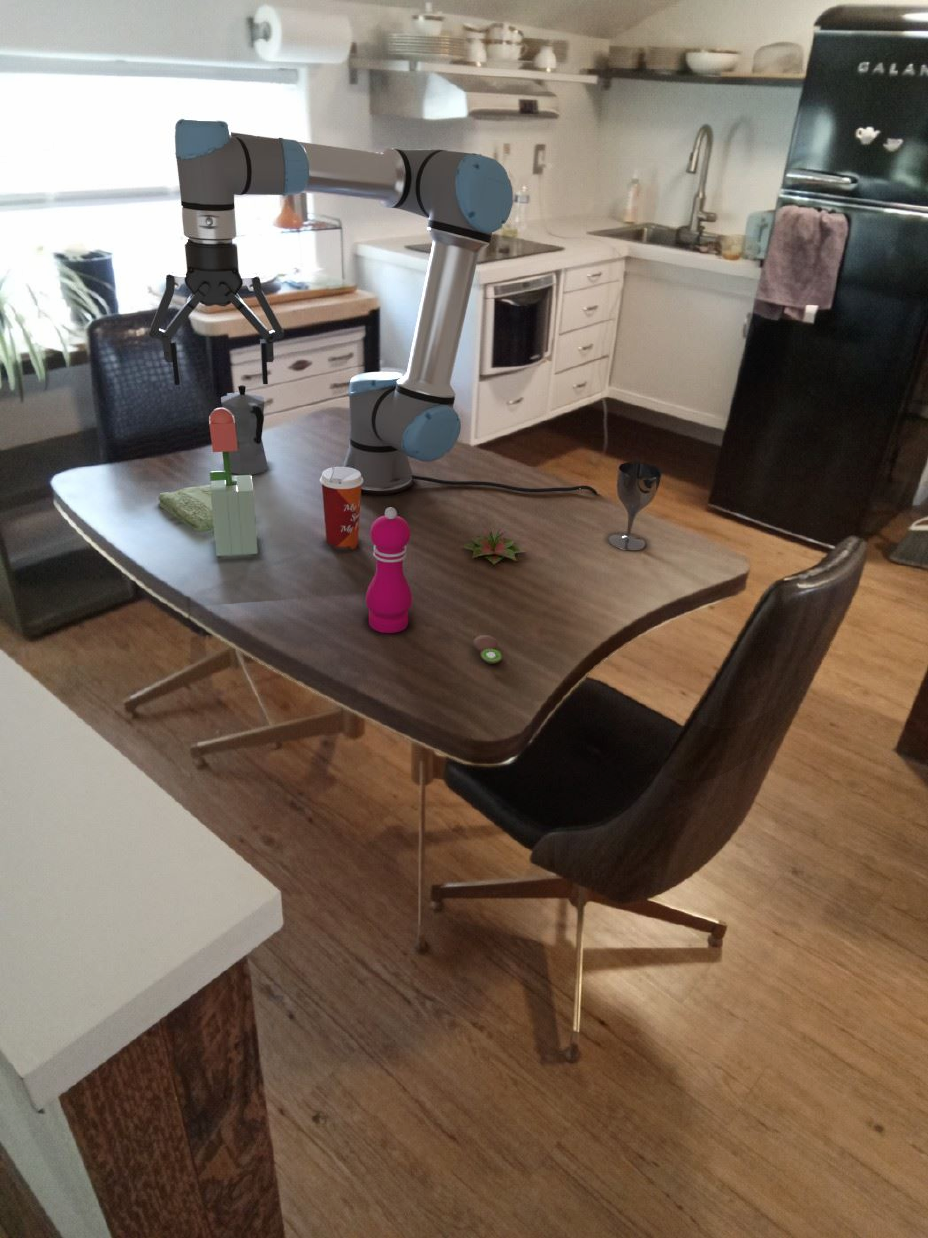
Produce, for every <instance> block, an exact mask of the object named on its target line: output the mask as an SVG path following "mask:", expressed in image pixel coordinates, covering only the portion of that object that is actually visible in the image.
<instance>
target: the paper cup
mask: <svg viewBox="0 0 928 1238" xmlns="http://www.w3.org/2000/svg"><path fill="white" fill-rule="evenodd" d="M319 483H320V484H321V491H322V503H323V513H324V514H323V515H324V516H323V517H324V526H325V527H324V528H325V538H326V542H327V543H328V544H329V545H330V546H334V547H338V548H346V547H350V550H355V549H356V548H357V547H358V541H359V528H360V514H361V513H360V512H361V497H362V493H361V484H362V483H363V478H362V477H361V473H360V472H359V471H358V470H356V469H354V468H350V467H343V466H332V467H329V468H328V467H327V468H326V469H324V470H323V471H322V474H321V476H320V477H319Z"/></svg>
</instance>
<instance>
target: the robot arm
mask: <svg viewBox="0 0 928 1238" xmlns="http://www.w3.org/2000/svg"><path fill="white" fill-rule="evenodd" d="M174 146H175V147H174V149H175V150H174V151H175V152H174V156H175V158H176V167H177V174H178V175H177V177H178V184H179V194H180V205H181V206H180V210H181V219H182V221H181V222H182V230H183V231H182V232H183V235H184V237H186V238H187V239H186V240H185V242H184V252H185V262H186V273H185V275H184V274H177V273H175V272H173V271H167V273H166V276H165V289H164V292H163V294H162V297H161V299H160V301H159V303H158V307H157V309H156V312H155V314H154V317H153V320H152V321H151V325H150V327H149V330H148V331H149V332H148V335H149V336H150V338H153V339H157V340H159V341H161V342H162V349H163V357H164V358H163V359H164V362H165V363H172V372H173V378H174V386H180V385H181V376H180V366H179V356H178V347H177V338H173V337H174V336H175V335H176V333H177V332H178V330H179V329H180V328H181V327H182V326H183V324H184V323H185V321H186V320H187V319H188V317H190V315H191V313H192V312H193V311H194V310H195V309H196V308H197V306H198V305H199V304H202V305H203V306H205V307H213V306H218V307H227V306H229V305H232V306H233V307H234V308H235V309H236V310H237V311H239V313H240V314H241V315H242V316H243V317H244V319H246V320H247V321H248V323H249V324H250V325H251V326H252V327H253V328H254V329H255V330H256V332H258V334H259V335H260V336H261V337H262V338H260V339H259V345H260V346H259V347H260V362H261V363H260V365H261V380H262V381H261V382H262V384H263V385H269V377H268V376H269V375H268V363H273V362H274V360H275V357H274V356H275V355H274V342H276V341H277V340H279V339H283V338H284V337H285V331H284V329H283V327H282V325H281V323H280V321H279V319H278V317H277V315H276V313H275V312H274V310H273V308H272V307H271V305H270V302H269V300H268V299H267V297H266V295H265V293H264V291H263V289H262V283H261V278H260V276H259V275H258V273H253V274H251V275H247V276H246V275H244V276H241V274H240V270H239V268H240V267H239V256H238V254H239V253H238V244H237V243H236V241H235V240H234V239H235V238H236V237H237V225H236V224H237V223H236V209H235V207H236V206H235V196H243V195H245V196H247V195H248V196H249V195H250V196H251V195H252V196H253V195H254V196H282V197H286V196H291V195H292V196H293V195H299V194H303V193H304V194H314V195H324V196H332V197H342V198H352V199H359V200H361V199H362V200H369V201H370V200H371V201H378V203H379V204H380V205H381V206H382V207H384V208H391V209H395V210H402V211H405V212H408V213H412V214H414V215H418V216H420V217H424V218H427V219H428V220H427V227H426V231H427V233H428V234H429V236H430V238H431V239H432V245H431V250H430V255H429V259H428V264H427V270H426V274H425V280H424V285H423V290H422V295H421V299H420V305H419V309H418V315H417V320H416V325H415V329H414V335H413V339H412V340H413V341H412V344H411V350H410V356H409V360H408V365H407V370H406V373H405V374H404V373H401V372H396V371H371V372H364V373H360V374H357V375H355V376H353V377H352V378H351V379H350V381H349V389H348V395H347V396H348V398H349V401H348V404H349V411H348V415H349V447H348V450H347V453H346V456H345V459H344V462H343V465H342V467H350V468H354V469H356V470H358V471H359V472H360V473H361V477H362V478H363V483H362V484H361V494H366V495H393V494H397V493H400V492H403V491H406V490H407V489H409V488H410V487H411V486H412V484H413V480H418V481H425V482H430V483H431V482H432V483H436V484H441V485H449V486H451V485H452V486H488V487H494V488H495V487H496V488H501V489H506V490H511V491H515V492H516V491H517V492H526V493H549V492H550V493H551V492H552V493H553V492H573V491H579V490H587V491H590V492H591V493H592V494H595V495H597V494H598V491H597V490H596V489H595V488H593V487H592V486H589V485H584V484H583V485H575V486H565V487H564V486H562V487H561V486H560V487H542V488H541V487H540V488H539V487H538V488H535V487H534V488H533V487H532V488H531V487H522V486H521V487H520V486H515V485H514V486H513V485H508V484H504V483H499V482H493V481H485V480H483V481H482V480H445V479H438V478H434V477H428V476H423V475H422V476H420V475H415V474H413V471H412V467H411V464H410V460H409V458H408V457H410V458H411V459H415V460H418V461H421V462H425V463H426V462H427V463H428V462H429V463H430V462H435V461H438V460H440V459H442V458H443V457H444V456H445V455H446V454H448V453H449V452H451V450H452V449H453V448H454V447H455V445H456V443H457V441H458V440H459V437H460V434H461V428H462V422H461V419H460V417H459V414H458V412H457V411H456V410H455V408H454V405H455V400H456V396H457V395H456V394H457V393H456V392H455V390H454V389H453V387H452V386H451V382H452V377H453V373H454V369H455V364H456V360H457V355H458V350H459V345H460V343H461V342H460V340H461V337H462V332H463V328H464V324H465V319H466V315H467V309H468V305H469V301H470V296H471V291H472V288H473V283H474V278H475V274H476V270H477V265H478V260H479V254H480V253H481V252H483V250H484V249H486V248H487V247H489V246H490V244H491V240H492V235H493V233H494V232H495V233H496V232H497V231H499V230H500V229H501V228H502V227H503V225H504V224H507V223H506V222H507V221H508V220H509V217H510V215H511V212H512V208H513V203H514V200H513V199H514V194H513V193H514V191H513V186H512V182H511V179H510V178H509V175H508V172H507V171H506V170H507V169H506V168H505V167H504V165H502V164H501V163H500V162H499V161H498V160H496V159H494V158H492V157H490V156H485V155H482V154H481V153H479V154H478V153H475V152H472V153H471V152H462V151H453V150H446V149H440V148H433V149H432V148H426V149H425V148H423V149H422V148H421V149H399V148H392V147H389V148H385V149H383V150H381V152H375V151H367V150H361V149H352V148H346V147H339V146H332V145H325V144H318V143H311V142H303V141H298V140H296V139H289V138H284V137H278V138H276V137H269V136H261V135H252V134H247V133H239V132H233V131H231V130H230V126H229V124H228V123H227V121H224V120H215V119H202V118H181V119H178V120H177V121H176V123H175V126H174ZM183 284H185V286H186V287H187V288H188V290H189V291H190V292H191V294H190V295H189V297H188V298H187V300H186V301H185V302H184V304H183V305H182V306H181V307H180V309H179V310H178V311H177V313H176V314H175V316H173V318H172V319H171V320H170V322H169V324H167V326H166V327H165V329H161V327H162V325H163V322H164V320H165V318H166V314H167V312H168V311H169V307H170V305H171V303H172V302H171V301H173V297H174V294H175V290H176V291H178V290H179V289H180V288H181V286H182V285H183ZM243 285H244V286H246V288H247V289H248V291H249V292H253V293H254V295H255V297H256V300H257V302H258V303H259V306H260V308H261V309H262V311H263V313H264V315H265V316H266V318H267V320H268V322H269V324H270V326H271V328H272V330H270V329H269V328H268V327H267V326H266V325H265V324H264V323H263V322H262V320H261V319H260V318H259V317H258V316H257V315H256V313H254V312H253V311H252V309H251V308H250V307H249V306H248V305H247V304H246V303H245V302H244V300H243V299H242V298H241V297H240V295H239V294H238V293H239V292H240V290H241V289H242V287H243ZM579 488H581V489H579Z"/></svg>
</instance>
